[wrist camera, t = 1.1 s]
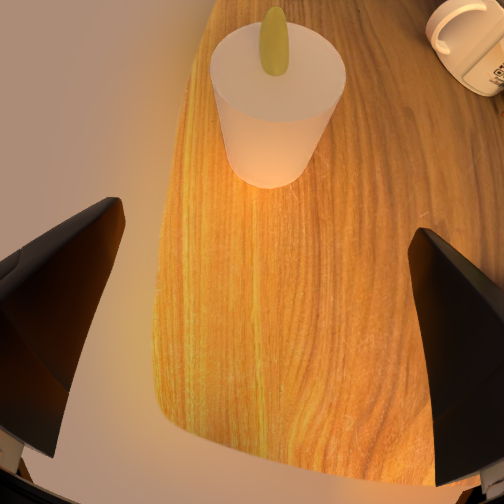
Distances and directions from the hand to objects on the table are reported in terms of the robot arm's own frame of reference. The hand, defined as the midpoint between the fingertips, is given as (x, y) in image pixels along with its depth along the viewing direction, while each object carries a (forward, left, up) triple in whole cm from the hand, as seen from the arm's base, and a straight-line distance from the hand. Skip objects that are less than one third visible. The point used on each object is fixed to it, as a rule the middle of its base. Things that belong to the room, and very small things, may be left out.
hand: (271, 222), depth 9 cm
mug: (+26, -16, -14) cm, 34 cm away
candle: (+8, +1, -14) cm, 16 cm away
